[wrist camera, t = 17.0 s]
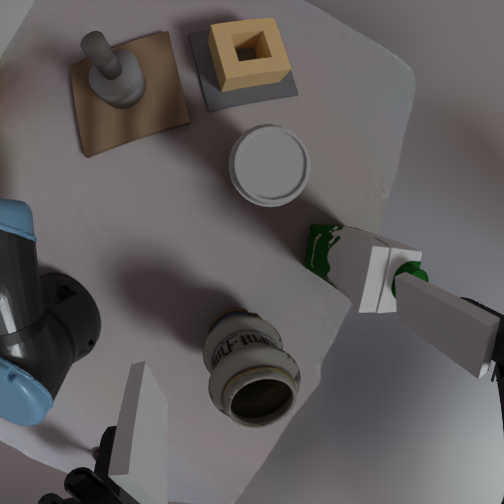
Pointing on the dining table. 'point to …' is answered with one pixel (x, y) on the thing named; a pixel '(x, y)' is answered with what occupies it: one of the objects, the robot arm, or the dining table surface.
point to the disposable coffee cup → (269, 165)
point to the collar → (248, 36)
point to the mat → (237, 96)
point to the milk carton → (361, 264)
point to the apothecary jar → (249, 370)
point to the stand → (126, 91)
